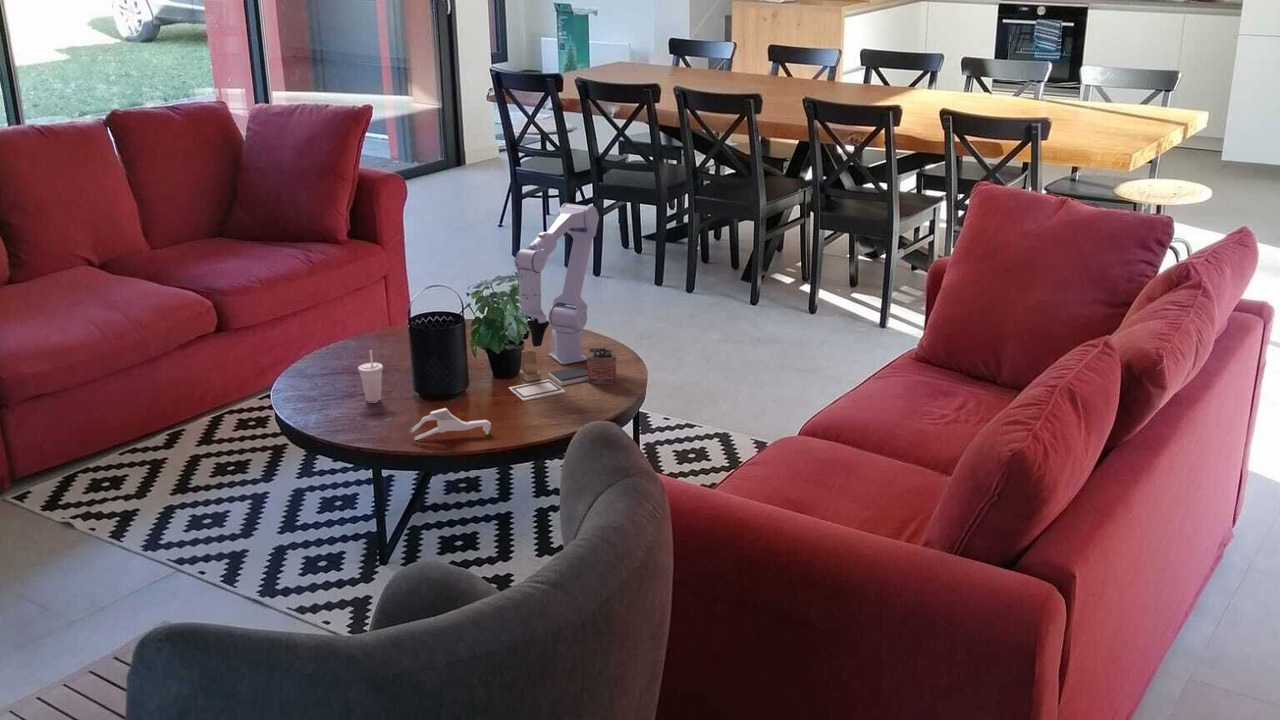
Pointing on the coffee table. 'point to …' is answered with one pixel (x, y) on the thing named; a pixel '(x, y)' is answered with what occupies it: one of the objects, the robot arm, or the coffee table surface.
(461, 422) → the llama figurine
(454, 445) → the coffee table surface
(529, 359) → the stamp
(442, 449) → the coffee table surface
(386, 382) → the coffee table surface
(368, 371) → the smoothie
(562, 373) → the ink pad
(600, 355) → the lighter
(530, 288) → the robot arm
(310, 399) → the coffee table surface
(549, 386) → the marked card
